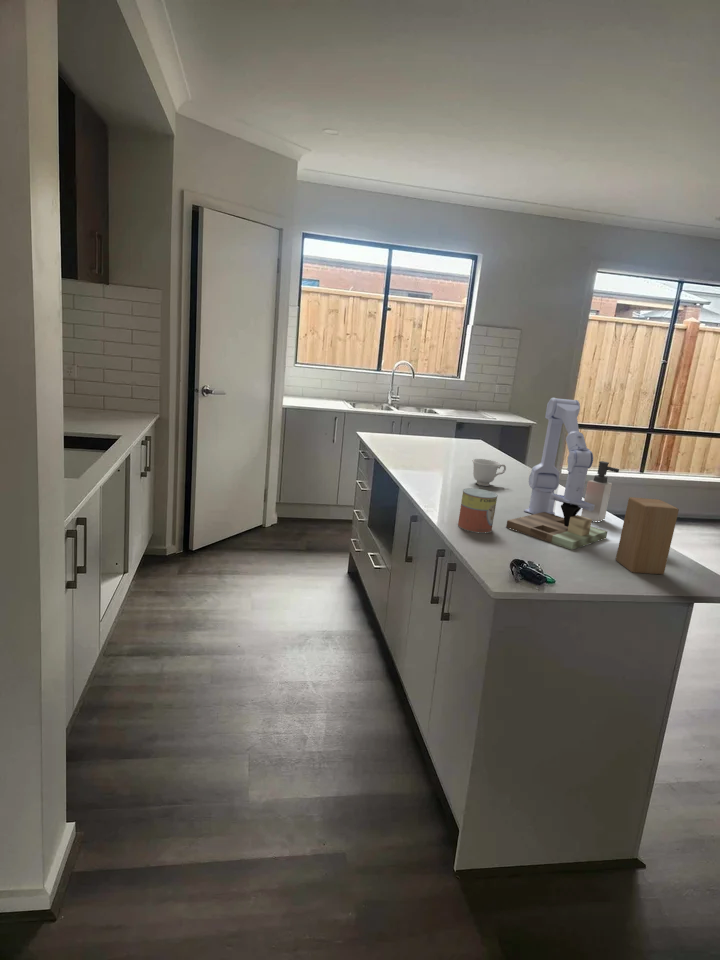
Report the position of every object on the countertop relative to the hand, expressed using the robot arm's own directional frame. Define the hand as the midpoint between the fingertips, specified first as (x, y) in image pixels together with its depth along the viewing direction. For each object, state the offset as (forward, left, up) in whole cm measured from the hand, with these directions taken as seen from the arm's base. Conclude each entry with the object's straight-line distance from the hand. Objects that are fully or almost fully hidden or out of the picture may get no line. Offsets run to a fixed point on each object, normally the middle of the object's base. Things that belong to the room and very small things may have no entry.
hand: (567, 525), depth 206 cm
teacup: (-36, -58, -4) cm, 68 cm away
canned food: (+23, -21, -4) cm, 31 cm away
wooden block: (+7, +28, -4) cm, 29 cm away
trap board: (0, -3, -3) cm, 5 cm away
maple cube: (0, +4, -1) cm, 4 cm away
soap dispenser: (-31, -4, -4) cm, 32 cm away
